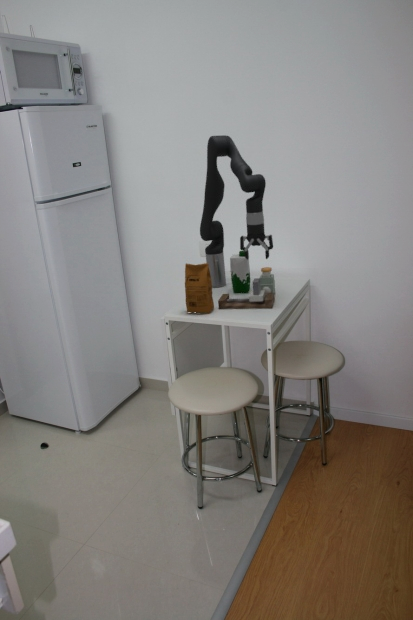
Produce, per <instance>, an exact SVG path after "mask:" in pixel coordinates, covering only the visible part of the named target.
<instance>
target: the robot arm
mask: <svg viewBox="0 0 413 620" xmlns="http://www.w3.org/2000/svg"><path fill="white" fill-rule="evenodd" d="M206 147H207V149H206V153H207V154H206V174H205V175H206V177H205V187H204V197H203V199H204V200H203V209H202V214H201V221H200V223H199V224H200V227H199V235H200V238H201V239H202V241H203V242H210V241H211V242H210V243H209V244H208V245H207V246H206V247H205V250H204V253H205V263H208V264H209V270H210V275H211V279H212V288H220V287H224V286H225V287H226V285H227V278H226V268H225V267H226V266H225V255H224V247H225V237H224V235H225V233H224V232H225V231H224V225H222V222H221V221H219V220H214V217H215V213H216V212H217V210H218V208H219V207H220V205H221V204H222V202H223V199H224V197H225V196H224V195H225V181H224V178H223V177H222V175H221V173H220V171H219V168H218V157H219V158H220V157H221V158H222V157H228V158H230V165H229V167H230V169H231V170H230V171H232V173H233V174H234V176H235V177H236V178H237V180H238V183H239V186H240V189H241V191H242V192H244V193H248V194H249V193H253V196H251V197H249V198H247V199H246V200H245V210H246V215H245V217H246V219H245V220H246V221H245V222H246V233H247V235H246V236H244V235H241V236H240V237H239V250H240V251H245V258H246V259H249V260H250V255H249V248H250V247H251V246H252V247H255V246H257V247H259V246H261V247H262V248H264V250H265V251H264V253H265V254H264V255H265V259H266V260H268V259H269V257H270V251H271V250H273V248H274V241H273V240H274V239H273V235H272V234H269V235H266V234H265V218H264V217H265V215H264V209H263V200H264V195H265V191H266V190H265V189H266V186H267V185H266V184H267V183H266V178H265V176H264V175H263V174H261V173H258V174H253V170H252V167H250V165H249V164H248V163H247V162H246V160H244V158H243V157H242V155H241V153H240V151H239V149H238V147H237V146H236V144H235V141H233V139H232V137H230V136H229V135H226V134H225V135H211V136H209V138H208V141H207V145H206ZM246 240H247V242H248V244H247V245H246V246H245V241H246ZM265 240H267V241H268V245H269V246H268V245H267V242H266V241H265Z"/></svg>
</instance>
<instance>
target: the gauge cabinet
mask: <svg viewBox="0 0 413 620" xmlns="http://www.w3.org/2000/svg"><path fill="white" fill-rule="evenodd" d="M259 278H260V288H261V290H265V298H266V296H267V294H268V293H274V294H275V295H276V288H275V287H276V280H275V274H274V273H271V277H263V276H262V274H260V276H259Z"/></svg>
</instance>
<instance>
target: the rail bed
mask: <svg viewBox="0 0 413 620" xmlns="http://www.w3.org/2000/svg"><path fill="white" fill-rule="evenodd" d="M275 296H276V293H275V294H274V293H268V294H267V296H266V298H264V300H263V301H252V302H249V297H248V298H247V297H246V298H230V293H222V294H221V295H220V297H219V298H218V300H217V302H218V303H217V304H218V310H240V309H241V310H243V309H244V310H247V309H248V310H249V309H250V310H253V309H256V310H257V309H258V310H259V309H260V310H261V309H273V308H274V305H275V302H276V299H275V298H276V297H275Z"/></svg>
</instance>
